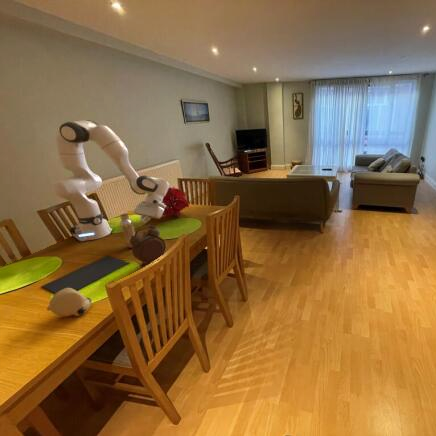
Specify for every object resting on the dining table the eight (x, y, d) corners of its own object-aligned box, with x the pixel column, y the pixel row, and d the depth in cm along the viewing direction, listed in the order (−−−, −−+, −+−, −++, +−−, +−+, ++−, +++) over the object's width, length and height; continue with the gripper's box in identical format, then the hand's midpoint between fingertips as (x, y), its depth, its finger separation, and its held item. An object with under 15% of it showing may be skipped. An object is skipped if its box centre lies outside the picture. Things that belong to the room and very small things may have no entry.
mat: (41, 286, 108) (41, 286, 107) (107, 256, 131) (107, 255, 131) (64, 297, 101) (63, 296, 101) (128, 263, 124) (128, 262, 124)
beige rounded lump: (70, 328, 90) (87, 311, 88) (35, 314, 85) (52, 295, 83) (86, 309, 99) (101, 293, 97) (55, 294, 94) (70, 277, 92)
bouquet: (159, 232, 173) (193, 207, 177) (133, 207, 163) (170, 182, 167) (162, 223, 192) (193, 201, 196) (139, 200, 182) (173, 177, 186)
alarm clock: (161, 253, 133) (152, 220, 125) (169, 256, 130) (161, 223, 122) (134, 266, 122) (123, 231, 114) (142, 270, 118) (131, 234, 110)
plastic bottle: (130, 250, 137) (120, 218, 129) (124, 247, 140) (114, 215, 132) (142, 245, 142) (133, 214, 134) (136, 242, 145) (127, 212, 137)
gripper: (137, 198, 149) (126, 218, 145) (160, 201, 142) (149, 223, 137) (145, 202, 155) (135, 222, 150) (168, 206, 147) (158, 227, 143)
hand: (142, 222), depth 144 cm, fingers closed
